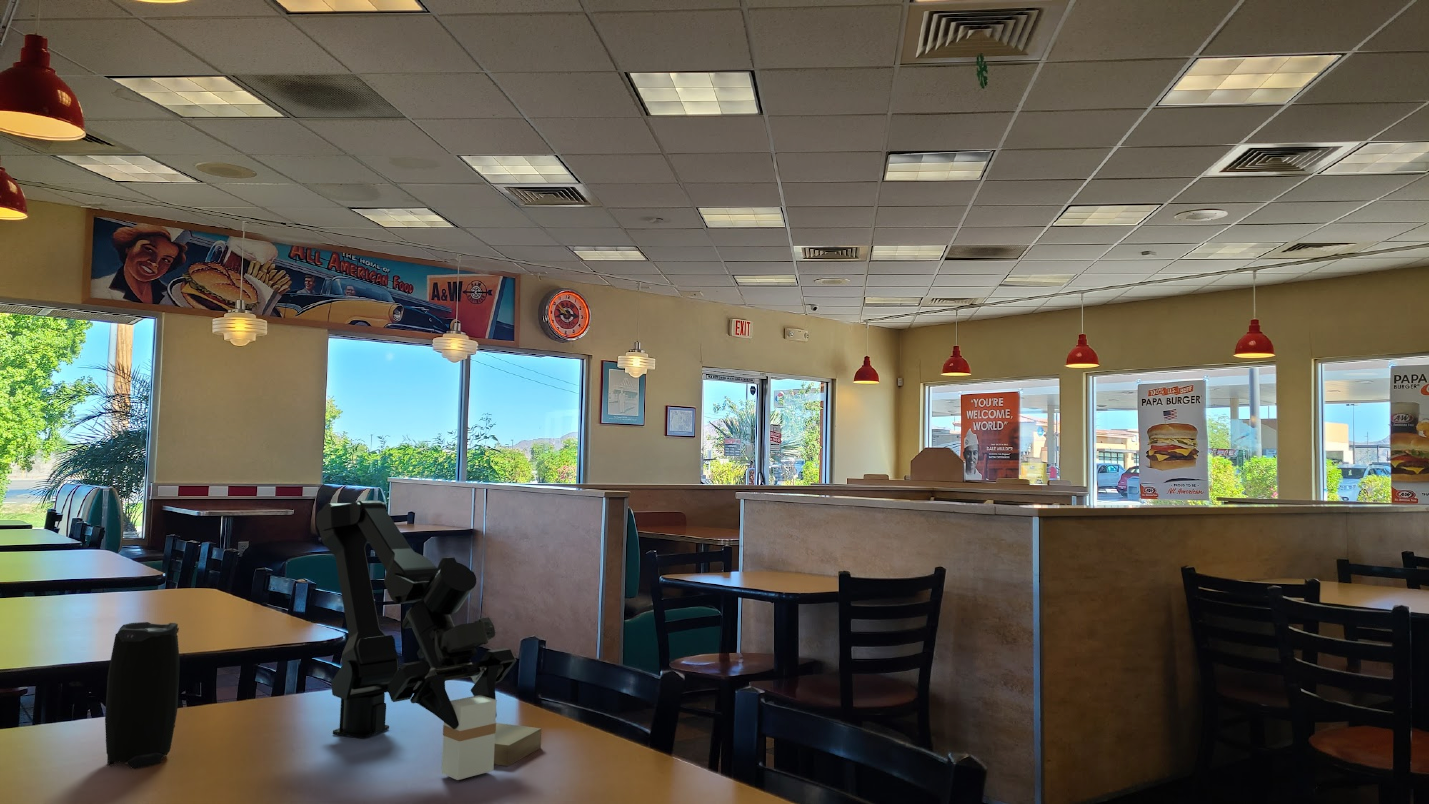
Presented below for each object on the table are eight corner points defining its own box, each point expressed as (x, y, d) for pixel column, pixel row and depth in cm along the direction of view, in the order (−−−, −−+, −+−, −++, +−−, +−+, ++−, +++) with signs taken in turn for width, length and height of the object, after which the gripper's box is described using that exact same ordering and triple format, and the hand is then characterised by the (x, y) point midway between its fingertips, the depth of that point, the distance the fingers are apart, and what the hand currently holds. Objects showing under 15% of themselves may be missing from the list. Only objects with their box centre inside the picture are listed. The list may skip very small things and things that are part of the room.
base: (449, 757, 143) (450, 737, 143) (485, 740, 152) (486, 721, 153) (507, 766, 140) (508, 745, 140) (540, 747, 149) (541, 728, 149)
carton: (440, 773, 134) (444, 701, 135) (477, 764, 139) (480, 694, 139) (457, 780, 131) (460, 707, 132) (493, 770, 136) (497, 700, 137)
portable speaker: (186, 752, 142) (195, 621, 143) (145, 772, 133) (155, 632, 134) (131, 750, 142) (140, 619, 144) (86, 769, 133) (97, 629, 134)
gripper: (402, 606, 132) (443, 700, 124) (511, 595, 146) (554, 679, 138) (371, 654, 137) (407, 748, 129) (479, 639, 151) (518, 723, 143)
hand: (475, 723), depth 135 cm, fingers closed on carton, 6 cm apart
